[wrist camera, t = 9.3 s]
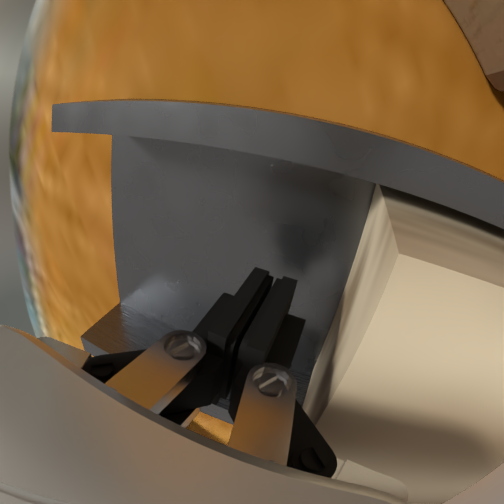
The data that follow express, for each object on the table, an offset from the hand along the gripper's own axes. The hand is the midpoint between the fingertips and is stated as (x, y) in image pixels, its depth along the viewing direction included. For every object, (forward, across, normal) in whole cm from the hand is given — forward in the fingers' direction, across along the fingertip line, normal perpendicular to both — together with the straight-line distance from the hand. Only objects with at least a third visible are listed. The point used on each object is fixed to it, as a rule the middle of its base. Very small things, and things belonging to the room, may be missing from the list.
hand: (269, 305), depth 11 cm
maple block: (+3, -7, 0) cm, 7 cm away
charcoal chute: (+4, -1, 0) cm, 4 cm away
